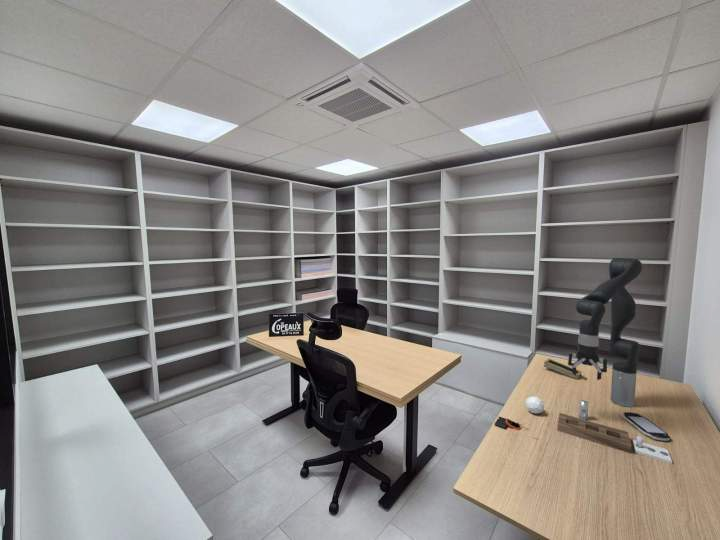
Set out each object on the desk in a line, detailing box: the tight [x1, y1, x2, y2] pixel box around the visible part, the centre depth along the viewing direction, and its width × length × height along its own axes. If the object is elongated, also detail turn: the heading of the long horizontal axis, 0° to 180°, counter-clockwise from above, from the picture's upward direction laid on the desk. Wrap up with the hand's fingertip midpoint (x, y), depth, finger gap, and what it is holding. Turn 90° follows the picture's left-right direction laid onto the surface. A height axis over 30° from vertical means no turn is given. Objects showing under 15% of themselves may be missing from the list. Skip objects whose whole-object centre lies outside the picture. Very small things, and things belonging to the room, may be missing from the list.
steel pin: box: [578, 399, 589, 421], centre depth 139 cm, size 3×3×8 cm
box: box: [543, 358, 588, 381], centre depth 187 cm, size 8×22×5 cm, turn 43°
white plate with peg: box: [632, 435, 673, 465], centre depth 116 cm, size 8×10×5 cm
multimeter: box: [494, 416, 538, 440], centre depth 133 cm, size 18×12×3 cm, turn 45°
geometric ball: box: [525, 395, 545, 415], centre depth 145 cm, size 8×8×8 cm
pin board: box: [557, 412, 632, 454], centre depth 128 cm, size 11×24×3 cm, turn 53°
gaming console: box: [621, 411, 671, 442], centre depth 132 cm, size 19×9×2 cm, turn 171°
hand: (586, 377), depth 138 cm, fingers open, 8 cm apart
